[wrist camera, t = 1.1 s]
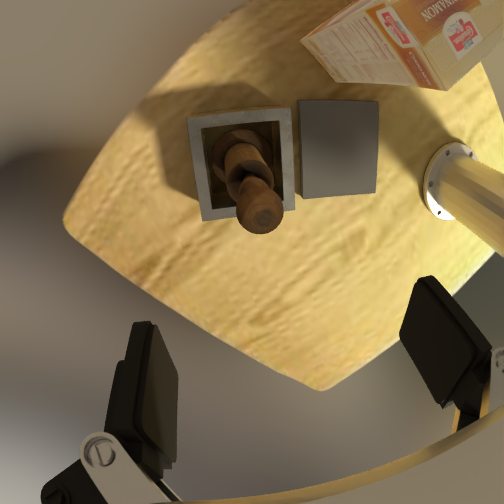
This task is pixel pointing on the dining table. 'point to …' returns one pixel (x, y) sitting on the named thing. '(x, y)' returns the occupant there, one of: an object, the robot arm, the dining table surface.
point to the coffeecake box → (407, 41)
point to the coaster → (338, 147)
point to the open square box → (282, 152)
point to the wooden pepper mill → (248, 178)
